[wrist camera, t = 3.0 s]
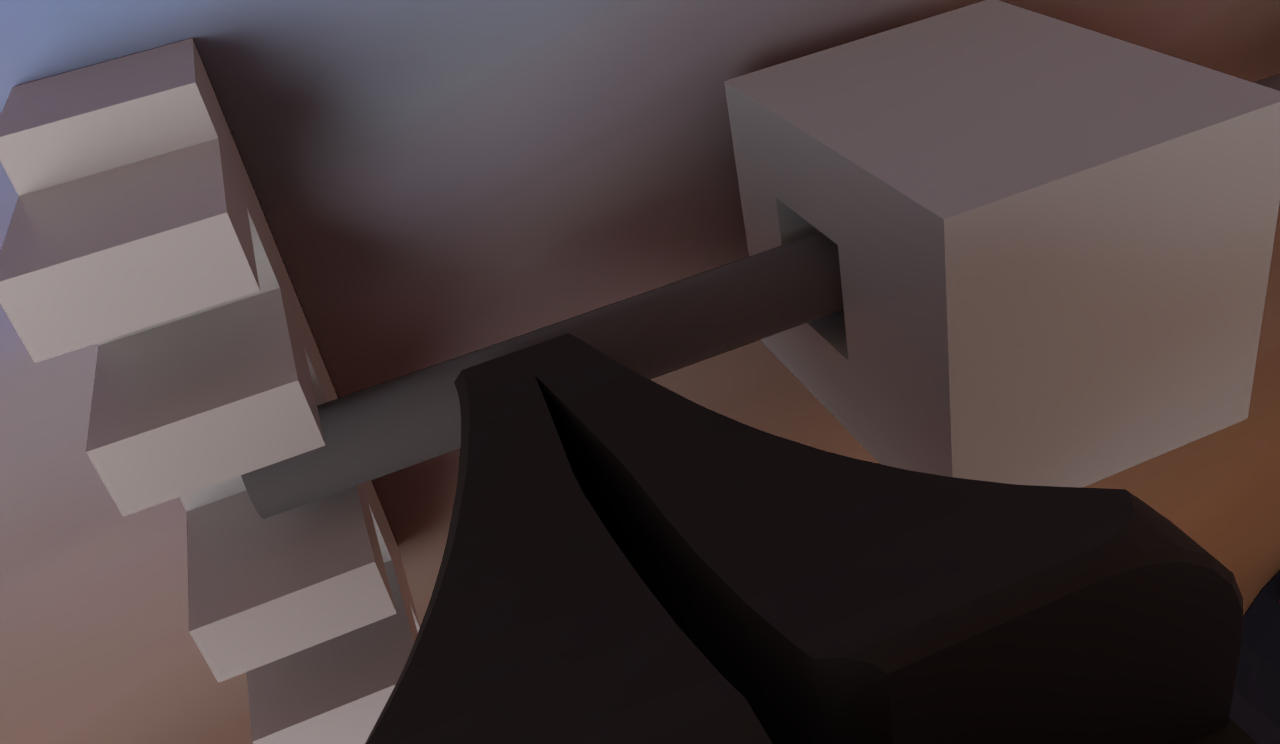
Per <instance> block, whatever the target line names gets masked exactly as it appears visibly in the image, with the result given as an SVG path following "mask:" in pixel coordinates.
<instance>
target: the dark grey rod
mask: <svg viewBox="0 0 1280 744" xmlns="http://www.w3.org/2000/svg"><path fill="white" fill-rule="evenodd" d="M1254 83H1256V84H1259V85H1262V86H1266V87H1269V88H1272V89H1275V90H1278V91H1280V74H1277V75H1274V76H1271V77H1269V78H1266V79H1263V80H1260V81H1257V82H1254ZM843 309H844V307H843V296H842V285H841V274H840V263H839V253H838V245H837V244H836V243H834V242H833V241H832V240H830V239H829V238H828V237H827V236H825V235H824V234H823V233H821V232H819V233H816V234H813V235H810V236H807V237H805V238H802V239H799V240H796V241H793V242H790V243H787V244H784V245H781V246H778V247H776V248H773V249H770V250H767V251H764V252H761V253H758V254H755V255H752V256H749V257H747V258H744V259H741V260H738V261H735V262H732V263H729V264H726V265H723V266H720V267H718V268H715V269H712V270H709V271H706V272H703V273H700V274H697V275H694V276H691V277H689V278H686V279H683V280H680V281H677V282H674V283H671V284H668V285H665V286H662V287H660V288H657V289H654V290H651V291H648V292H645V293H642V294H639V295H636V296H633V297H631V298H628V299H625V300H622V301H619V302H616V303H613V304H610V305H607V306H604V307H602V308H599V309H596V310H593V311H590V312H587V313H584V314H581V315H578V316H575V317H573V318H570V319H567V320H564V321H561V322H558V323H555V324H552V325H549V326H546V327H544V328H541V329H538V330H535V331H532V332H529V333H526V334H523V335H520V336H517V337H514V338H512V339H509V340H506V341H503V342H500V343H497V344H494V345H491V346H488V347H485V348H483V349H480V350H477V351H474V352H471V353H468V354H465V355H462V356H459V357H456V358H454V359H451V360H448V361H445V362H442V363H439V364H436V365H433V366H430V367H427V368H425V369H422V370H419V371H416V372H413V373H410V374H407V375H404V376H401V377H398V378H396V379H393V380H390V381H387V382H384V383H381V384H378V385H375V386H372V387H369V388H367V389H364V390H361V391H358V392H355V393H352V394H349V395H346V396H343V397H340V398H338V399H335V400H332V401H329V402H326V403H323V404H320V405H317V408H318V413H319V417H320V422H321V427H322V431H323V436H324V440H325V446H322V447H320V448H317V449H314V450H311V451H308V452H305V453H303V454H300V455H297V456H294V457H291V458H288V459H286V460H283V461H280V462H277V463H274V464H271V465H269V466H266V467H263V468H260V469H257V470H254V471H252V472H249V473H246V474H243V475H241V477H242V480H243V482H244V485H245V487H246V490H247V492H248V495H249V497H250V499H251V501H252V503H253V505H254V507H255V509H256V511H257V512H258V514H259V515H260V516H261V518H263V519H266V518H269V517H271V516H274V515H277V514H280V513H282V512H285V511H288V510H291V509H293V508H296V507H299V506H302V505H304V504H307V503H310V502H313V501H316V500H318V499H321V498H324V497H327V496H329V495H332V494H335V493H338V492H340V491H343V490H346V489H349V488H351V487H354V486H357V485H360V484H363V483H365V482H368V481H371V480H374V479H376V478H379V477H382V476H385V475H387V474H390V473H393V472H396V471H398V470H401V469H404V468H407V467H410V466H412V465H415V464H418V463H421V462H423V461H426V460H429V459H432V458H434V457H437V456H440V455H443V454H445V453H448V452H451V451H454V450H456V449H459V448H460V446H461V410H460V402H459V396H458V393H457V390H456V387H455V384H454V382H455V380H456V379H457V377H458V375H459V374H460V372H461V370H463V369H466V368H469V367H472V366H475V365H478V364H481V363H483V362H486V361H489V360H492V359H495V358H498V357H501V356H504V355H506V354H509V353H512V352H515V351H518V350H521V349H524V348H527V347H529V346H532V345H535V344H538V343H541V342H544V341H547V340H549V339H552V338H555V337H558V336H561V335H564V334H567V333H570V334H572V335H574V336H576V337H578V338H580V339H581V340H583V341H585V342H586V343H588V344H590V345H591V346H593V347H595V348H596V349H598V350H600V351H601V352H603V353H605V354H606V355H608V356H610V357H611V358H613V359H615V360H616V361H618V362H620V363H621V364H623V365H625V366H627V367H628V368H630V369H632V370H634V371H635V372H637V373H639V374H641V375H642V376H644V377H646V378H648V379H653V378H655V377H658V376H661V375H664V374H667V373H669V372H672V371H675V370H678V369H680V368H683V367H686V366H689V365H691V364H694V363H697V362H700V361H702V360H705V359H708V358H711V357H714V356H716V355H719V354H722V353H725V352H727V351H730V350H733V349H736V348H738V347H741V346H744V345H747V344H749V343H752V342H755V341H758V340H760V339H763V338H766V337H769V336H772V335H774V334H777V333H780V332H783V331H785V330H788V329H791V328H794V327H796V326H799V325H802V324H805V323H807V322H810V321H813V320H816V319H819V318H821V317H824V316H827V315H830V314H832V313H835V312H838V311H841V310H843Z"/></svg>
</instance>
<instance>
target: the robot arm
mask: <svg viewBox="0 0 1280 744" xmlns="http://www.w3.org/2000/svg"><path fill="white" fill-rule="evenodd" d="M454 384H455V387H456V390H457V393H458V396H459V402H460V410H461V446H460V458H459V471H458V481H457V489H456V495H455V500H454V506H453V511H452V517H451V522H450V528H449V533H448V538H447V543H446V547H445V551H444V555H443V559H442V562H441V566H440V570H439V573H438V577H437V580H436V583H435V586H434V590H433V593H432V596H431V599H430V602H429V605H428V608H427V611H426V613H425V616H424V619H423V621H422V624H421V626H420V629H419V632H418V634H417V637H416V639H415V642H414V645H413V647H412V650H411V652H410V655H409V657H408V659H407V662H406V664H405V666H404V668H403V671H402V673H401V675H400V677H399V679H398V681H397V683H396V685H395V687H394V689H393V691H392V693H391V695H390V697H389V699H388V701H387V703H386V705H385V706H384V708H383V710H382V712H381V714H380V716H379V718H378V720H377V722H376V724H375V726H374V728H373V730H372V731H371V733H370V735H369V737H368V739H367V741H366V743H365V744H1258V743H1256V742H1255V741H1254V740H1253V739H1252V738H1251V737H1250V736H1249V735H1248V734H1247V733H1246V732H1245V731H1244V730H1242V729H1241V728H1240V727H1239V726H1238V725H1237V724H1236V723H1235V722H1234V721H1233V720H1232V719H1231V718H1230V717H1229V716H1230V710H1231V704H1232V698H1233V692H1234V686H1235V680H1236V674H1237V668H1238V662H1239V656H1240V650H1241V644H1242V631H1243V598H1242V595H1241V593H1240V590H1239V588H1238V585H1237V583H1236V580H1235V578H1234V575H1233V573H1232V572H1231V571H1229V570H1228V569H1227V568H1226V567H1225V566H1223V565H1222V564H1221V563H1220V562H1219V561H1218V560H1216V559H1215V558H1214V557H1213V556H1212V555H1210V554H1209V553H1208V552H1207V551H1206V550H1204V549H1203V548H1202V547H1201V546H1200V545H1198V544H1197V543H1196V542H1195V541H1194V540H1192V539H1191V538H1190V537H1189V536H1187V535H1186V534H1185V533H1184V532H1183V531H1181V530H1180V529H1179V528H1178V527H1177V526H1175V525H1174V524H1173V523H1172V522H1171V521H1169V520H1168V519H1166V518H1165V517H1164V516H1162V515H1161V514H1159V513H1158V512H1157V511H1155V510H1154V509H1153V508H1151V507H1150V506H1148V505H1147V504H1146V503H1144V502H1143V501H1141V500H1140V499H1138V498H1137V497H1135V496H1134V495H1132V494H1131V493H1129V492H1128V491H1127V490H1122V489H1100V488H1078V487H1056V486H1033V485H1016V484H1005V483H997V482H989V481H980V480H972V479H963V478H955V477H947V476H941V475H935V474H929V473H922V472H916V471H910V470H905V469H900V468H896V467H891V466H886V465H882V464H877V463H872V462H868V461H863V460H858V459H853V458H850V457H846V456H842V455H838V454H834V453H830V452H826V451H823V450H819V449H816V448H813V447H810V446H807V445H803V444H800V443H797V442H794V441H791V440H788V439H784V438H781V437H778V436H775V435H772V434H769V433H766V432H764V431H761V430H758V429H755V428H753V427H750V426H747V425H745V424H742V423H740V422H738V421H735V420H733V419H731V418H728V417H726V416H723V415H721V414H719V413H716V412H714V411H712V410H709V409H707V408H705V407H703V406H700V405H698V404H696V403H694V402H692V401H690V400H688V399H686V398H684V397H682V396H680V395H679V394H677V393H675V392H673V391H671V390H669V389H667V388H665V387H663V386H661V385H659V384H657V383H655V382H653V381H652V380H650V379H648V378H646V377H644V376H642V375H641V374H639V373H637V372H635V371H634V370H632V369H630V368H628V367H627V366H625V365H623V364H621V363H620V362H618V361H616V360H615V359H613V358H611V357H610V356H608V355H606V354H605V353H603V352H601V351H600V350H598V349H596V348H595V347H593V346H591V345H590V344H588V343H586V342H585V341H583V340H581V339H580V338H578V337H576V336H574V335H572V334H570V333H567V334H564V335H561V336H558V337H555V338H552V339H549V340H547V341H544V342H541V343H538V344H535V345H532V346H529V347H527V348H524V349H521V350H518V351H515V352H512V353H509V354H506V355H504V356H501V357H498V358H495V359H492V360H489V361H486V362H483V363H481V364H478V365H475V366H472V367H469V368H466V369H463V370H461V372H460V374H459V375H458V377H457V379H456V380H455V382H454Z"/></svg>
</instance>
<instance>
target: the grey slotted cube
mask: <svg viewBox="0 0 1280 744" xmlns="http://www.w3.org/2000/svg"><path fill="white" fill-rule="evenodd" d="M724 85H725V92H726V99H727V106H728V113H729V120H730V127H731V134H732V141H733V148H734V155H735V162H736V169H737V176H738V183H739V190H740V197H741V204H742V211H743V218H744V225H745V232H746V239H747V246H748V253H749V256H752V255H755V254H758V253H761V252H764V251H767V250H770V249H773V248H776V247H778V246H781V245H784V244H787V243H790V242H793V241H796V240H799V239H802V238H805V237H807V236H810V235H813V234H816V233H819V232H821V233H823V234H824V235H825V236H827V237H828V238H829V239H830V240H832V241H833V242H834V243H836V244H837V245H838V253H839V263H840V274H841V285H842V296H843V307H844V309H843V310H841V311H838V312H835V313H832V314H830V315H827V316H824V317H821V318H819V319H816V320H813V321H810V322H807V323H805V324H802V325H799V326H796V327H794V328H791V329H788V330H785V331H783V332H780V333H777V334H774V335H772V336H769V337H766V338H763V339H761V342H762V343H763V344H764V345H765V346H766V347H767V348H768V349H769V350H770V351H771V352H772V353H773V354H774V355H775V356H776V357H777V358H778V359H779V360H780V361H781V362H782V363H783V364H784V365H785V366H786V367H787V369H788V370H789V371H790V372H791V373H792V374H793V375H794V376H795V377H796V378H797V379H798V380H799V381H800V382H801V383H802V384H803V385H804V386H805V387H806V388H807V389H808V390H809V391H810V392H811V393H812V394H813V395H814V396H815V397H816V398H817V399H818V400H819V402H820V403H821V404H822V405H823V406H824V407H825V408H826V409H827V410H828V411H829V412H830V413H831V414H832V415H833V416H834V417H835V418H836V419H837V420H838V421H839V422H840V423H841V424H842V425H843V426H844V427H845V428H846V429H847V430H848V431H849V432H850V433H851V435H852V436H853V437H854V438H855V439H856V440H857V441H858V442H859V443H860V444H861V445H862V446H863V447H864V448H865V449H866V450H867V451H868V452H869V453H870V454H871V455H872V456H873V457H874V458H875V459H876V460H877V461H878V462H879V463H880V464H882V465H886V466H891V467H896V468H900V469H905V470H910V471H916V472H922V473H929V474H935V475H941V476H947V477H955V478H963V479H972V480H980V481H989V482H997V483H1005V484H1016V485H1033V486H1056V487H1078V488H1083V487H1085V486H1088V485H1090V484H1092V483H1095V482H1097V481H1100V480H1102V479H1104V478H1107V477H1109V476H1112V475H1114V474H1116V473H1119V472H1121V471H1123V470H1126V469H1128V468H1131V467H1133V466H1135V465H1138V464H1140V463H1143V462H1145V461H1147V460H1150V459H1152V458H1155V457H1157V456H1159V455H1162V454H1164V453H1167V452H1169V451H1171V450H1174V449H1176V448H1179V447H1181V446H1183V445H1186V444H1188V443H1191V442H1193V441H1195V440H1198V439H1200V438H1203V437H1205V436H1207V435H1210V434H1212V433H1215V432H1217V431H1219V430H1222V429H1224V428H1227V427H1229V426H1231V425H1234V424H1236V423H1239V422H1241V421H1243V420H1246V419H1248V413H1249V406H1250V399H1251V393H1252V386H1253V379H1254V372H1255V366H1256V359H1257V352H1258V345H1259V339H1260V332H1261V325H1262V318H1263V312H1264V305H1265V298H1266V291H1267V285H1268V278H1269V271H1270V264H1271V258H1272V251H1273V244H1274V237H1275V231H1276V224H1277V217H1278V210H1279V204H1280V91H1278V90H1275V89H1272V88H1269V87H1266V86H1262V85H1259V84H1256V83H1253V82H1250V81H1247V80H1244V79H1241V78H1238V77H1235V76H1231V75H1228V74H1225V73H1222V72H1219V71H1216V70H1213V69H1210V68H1207V67H1204V66H1200V65H1197V64H1194V63H1191V62H1188V61H1185V60H1182V59H1179V58H1176V57H1173V56H1170V55H1166V54H1163V53H1160V52H1157V51H1154V50H1151V49H1148V48H1145V47H1142V46H1139V45H1135V44H1132V43H1129V42H1126V41H1123V40H1120V39H1117V38H1114V37H1111V36H1108V35H1104V34H1101V33H1098V32H1095V31H1092V30H1089V29H1086V28H1083V27H1080V26H1077V25H1073V24H1070V23H1067V22H1064V21H1061V20H1058V19H1055V18H1052V17H1049V16H1046V15H1043V14H1039V13H1036V12H1033V11H1030V10H1027V9H1024V8H1021V7H1018V6H1015V5H1012V4H1008V3H1005V2H1002V1H999V0H985V1H981V2H978V3H975V4H972V5H968V6H965V7H962V8H959V9H955V10H952V11H949V12H946V13H942V14H939V15H936V16H933V17H930V18H926V19H923V20H920V21H917V22H913V23H910V24H907V25H904V26H900V27H897V28H894V29H891V30H887V31H884V32H881V33H878V34H875V35H871V36H868V37H865V38H862V39H858V40H855V41H852V42H849V43H845V44H842V45H839V46H836V47H832V48H829V49H826V50H823V51H819V52H816V53H813V54H810V55H807V56H803V57H800V58H797V59H794V60H790V61H787V62H784V63H781V64H777V65H774V66H771V67H768V68H764V69H761V70H758V71H755V72H751V73H748V74H745V75H742V76H739V77H735V78H732V79H729V80H726V81H724Z"/></svg>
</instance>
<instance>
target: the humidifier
mask: <svg viewBox="0 0 1280 744" xmlns="http://www.w3.org/2000/svg"><path fill="white" fill-rule="evenodd" d="M1229 717H1230V718H1231V719H1232V720H1233V721H1234V722H1235V723H1236V724H1237V725H1238V726H1239V727H1240V728H1241V729H1242V730H1244V731H1245V732H1246V733H1247V734H1248V735H1249V736H1250V737H1251V738H1252V739H1253V740H1254V741H1255V742H1256V743H1258V744H1280V571H1279V572H1278V573H1277V575H1276V576H1275V577H1274V578H1273V579H1272V580H1271V581H1270V582H1269V583H1268V584H1267V585H1266V586H1265V587H1264V588H1263V589H1262V590H1261V592H1260V593H1259V594H1258V596H1257V597H1256V599H1255V600H1254V602H1253V603H1252V605H1251V606H1250V608H1249V609H1248V611H1247V612H1246V614H1245V615H1244V616H1243V631H1242V644H1241V650H1240V656H1239V662H1238V668H1237V674H1236V680H1235V686H1234V692H1233V698H1232V704H1231V710H1230V716H1229Z"/></svg>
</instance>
